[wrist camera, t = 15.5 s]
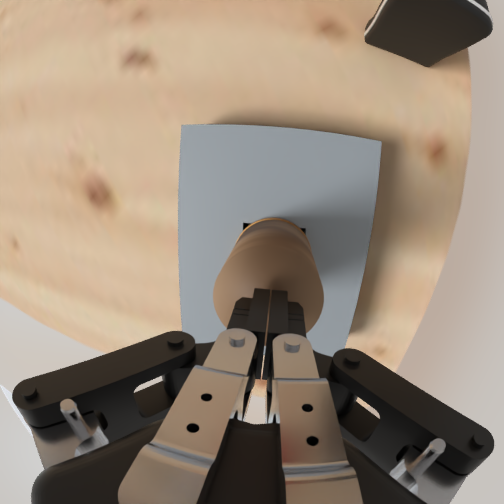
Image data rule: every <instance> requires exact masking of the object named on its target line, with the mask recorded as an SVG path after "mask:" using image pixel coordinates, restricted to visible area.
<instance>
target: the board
mask: <svg viewBox="0 0 504 504" xmlns="http://www.w3.org/2000/svg"><path fill="white" fill-rule="evenodd" d="M381 143H382V142H381V141H377V140H371V139H366V138H361V137H355V136H349V135H343V134H336V133H330V132H322V131H314V130H306V129H296V128H285V127H272V126H256V125H227V124H198V125H182V127H181V142H180V161H179V191H178V256H179V286H180V305H181V321H182V332H186V333H188V334H190V335H192V336H193V337H194V339H195V343H209V342H213V341H216V339H217V337H218V335H219V334H220V333H221V332H223V331H225V330H226V329H227V328H226V327H225V326H224V325H223V324H222V322H221V321H220V319H219V317H218V315H217V313H216V310H215V307H214V303H213V289H214V284H215V281H216V279H217V276H218V275H219V273H220V271H221V269H222V267H223V266H224V264H225V262H226V260H227V258H228V257H229V255H230V253H231V251H232V250H233V248H234V246H235V244H236V241H237V239H238V238H239V236H240V234H241V233H242V232H243V230H244V229H245V228H246V227H247V226H248V223H253V222H255V221H258V220H260V219H264V218H281V219H285V220H288V221H290V222H292V223H294V224H295V225H296V226H298V227H299V228H302V229H301V230H302V231H303V232H304V234H305V235H306V237H307V239H308V241H309V243H310V246H311V251H312V255H313V258H314V261H315V264H316V267H317V270H318V273H319V276H320V280H321V283H322V286H323V291H324V304H323V309H322V313H321V315H320V317H319V319H318V321H317V322H316V324H315V325H314V326H313V328H312V329H311V330H310V331H309V332H308V333H306V337H307V339H308V340H309V341H310V343H311V346H312V349H313V350H315V351H316V352H318V353H321V354H324V355H328V356H332V357H333V355H334V353H335V352H336V351H338V350H340V349H344V348H345V345H346V342H347V338H348V335H349V331H350V328H351V324H352V320H353V316H354V312H355V308H356V304H357V300H358V296H359V292H360V288H361V283H362V279H363V274H364V269H365V264H366V259H367V254H368V248H369V243H370V237H371V231H372V225H373V218H374V211H375V204H376V196H377V188H378V179H379V169H380V157H381ZM265 349H266V346H264V354H263V355H265Z"/></svg>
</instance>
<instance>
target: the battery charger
mask: <svg viewBox="0 0 504 504" xmlns="http://www.w3.org/2000/svg"><path fill="white" fill-rule="evenodd" d="M492 27H493V20H492V17H491V15H490V13H489V10H488V6H487V2H486V0H382V2H381V3H380V5H379V7H378V9H377V11H376V13H375V15H374V16H373V18H372V19H370V20H369V22H368V23H367V26H366V28H365V33H364V38H365V42H366V43H367V44H370V45H373V46H376V47H378V48H381V49H384V50H387V51H389V52H392V53H395V54H397V55H400V56H402V57H405V58H407V59H410V60H412V61H414V62H417V63H419V64H421V65H424V66H426V67H430V66H432V65H433V64H435V63H436V62H438V61H440V60H442V59H443V58H445V57H448V56H450V55H452V54H454V53H456V52H459V51H461V50H463V49H465V48H467V47H469V46H471V45H473V44H475V43H477V42H479V41H480V40H482V39H484V38H486V37H487V36H489V35H490V34H491V32H492V30H493V28H492Z"/></svg>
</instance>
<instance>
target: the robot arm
mask: <svg viewBox="0 0 504 504" xmlns="http://www.w3.org/2000/svg"><path fill="white" fill-rule="evenodd" d="M269 298H270V289H262V288H255V289H254V293H253V298H247V297H241V298H240V299H239V300H237V301H236V303H235V306H234V309H233V312H232V314H231V317H230V320H229V323H228V326H227V329H226V330H225V331H223V332H221V333H220V334H219V335H218V337H217V339H216V341H213V342H209V343H195V339H194V337H193V336H192V335H190V334H188V333H186V332H182V331H170V332H166V333H164V334H161V335H158V336H156V337H153V338H150V339H147V340H145V341H142V342H139V343H136V344H134V345H131V346H128V347H125V348H122V349H119V350H117V351H114V352H111V353H108V354H105V355H102V356H99V357H96V358H93V359H90V360H87V361H84V362H81V363H78V364H75V365H72V366H69V367H66V368H62V369H60V370H56V371H53V372H49V373H46V374H43V375H39V376H36V377H32V378H29V379H26V380H23V381H22V382H20V383H19V384H18V385H17V386H16V387H15V388H14V390H13V394H12V398H13V402H14V403H15V405H16V406H17V408H18V410H19V411H20V413H21V414H22V416H23V417H24V420H25V422H26V423H27V424H28V426H29V427H30V429H31V431H32V434H33V438H34V441H35V444H36V447H37V450H38V453H39V456H40V459H41V461H42V464H43V467H44V469H45V470H44V471H43V472H41V473H40V474H39V476H38V477H37V478H36V480H35V482H34V484H33V487H32V493H31V502H32V504H449V503H450V502H451V500H452V499H453V497H454V496H455V494H456V493H457V491H458V490H459V488H460V487H461V485H462V483H463V482H464V480H465V478H466V477H467V476H468V475H469V474H470V473H472V472H473V471H474V470H475V469H476V468H477V467H478V466H479V465H480V464H481V463H482V462H483V461H484V460H485V459H486V458H487V457H488V456H489V455H490V454H491V453H492V451H493V449H494V439H493V436H492V435H491V433H490V432H489V431H488V430H487V429H486V428H484V427H482V426H481V425H479V424H477V423H476V422H474V421H472V420H471V419H469V418H467V417H466V416H464V415H462V414H460V413H459V412H457V411H456V410H454V409H452V408H451V407H449V406H447V405H446V404H444V403H442V402H441V401H439V400H437V399H436V398H434V397H432V396H431V395H429V394H428V393H426V392H425V391H423V390H421V389H420V388H418V387H417V386H415V385H413V384H412V383H410V382H408V381H407V380H405V379H404V378H402V377H400V376H399V375H397V374H396V373H394V372H393V371H391V370H390V369H388V368H387V367H385V366H383V365H382V364H380V363H379V362H377V361H376V360H374V359H373V358H371V357H369V356H368V355H366V354H365V353H363V352H361V351H359V350H356V349H350V348H346V349H340V350H338V351H336V352H335V353H334V355H333V357H332V356H328V355H324V354H321V353H318V352H316V351H315V350H313V349H312V346H311V343H310V341H309V340H308V339H307V337H306V328H305V319H304V311H303V307H302V306H301V305H300V304H299V303H298V302H289V301H288V291H283V290H272V293H271V302H270V312H269V321H268V330H267V340H266V349H265V358H264V367H263V376H262V379H263V380H267V388H266V395H265V406H266V407H265V408H266V424H250V423H247V422H244V420H245V416H246V413H247V409H248V406H249V402H250V398H251V395H252V389H253V387H254V384H255V379H261V370H262V362H263V354H264V345H265V336H266V327H267V318H268V308H269ZM159 376H162V379H163V381H161V382H159V383H156V384H154V385H152V386H150V387H147V388H145V389H143V390H140V391H138V392H135V393H134V390H135V389H136V387H138V386H139V385H141V384H143V383H145V382H147V381H150V380H153V379H155V378H157V377H159ZM357 397H359V398H361V399H362V400H363V401H365V402H366V403H367V404H369V405H370V406H371V407H373V408H374V409H375V410H377V412H378V413H379V415H380V419H379V418H377V417H376V416H375V415H373V414H372V413H371V412H369V411H368V410H367V409H365V408H364V407H363V406H361V405H360V404H359V403H357V402H356V400H357Z"/></svg>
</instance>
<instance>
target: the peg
mask: <svg viewBox="0 0 504 504" xmlns="http://www.w3.org/2000/svg"><path fill="white" fill-rule="evenodd" d="M255 288H262V289H270V298H269V308H268V318H267V327H266V336H265V345H264V346H266V340H267V330H268V321H269V312H270V302H271V293H272V290H283V291H288V301H289V302H298V303H299V304H300V305H301V306H302V307H303V311H304V319H305V328H306V333H308V332H309V331H310V330H311V329H312V328H313V326H314V325H315V324H316V322H317V321H318V319H319V317H320V315H321V313H322V309H323V304H324V291H323V286H322V283H321V280H320V276H319V273H318V270H317V267H316V264H315V261H314V258H313V255H312V251H311V246H310V243H309V241H308V239H307V237H306V235H305V234H304V232H303V231H302V230H301V229H300V228H299V227H298V226H296V225H295V224H294V223H292V222H290V221H288V220H285V219H281V218H264V219H260V220H258V221H255V222H253V223H252V224H250V225H249V226H247V227H246V228H245V229H244V230H243V232H242V233H241V234H240V236H239V238H238V239H237V241H236V244H235V246H234V248H233V250H232V251H231V253H230V255H229V257H228V258H227V260H226V262H225V264H224V266H223V267H222V269H221V271H220V273H219V275H218V276H217V279H216V281H215V284H214V289H213V303H214V307H215V310H216V313H217V315H218V317H219V319H220V321H221V322H222V324H223V325H224V326H225V327H226V328H227V326H228V323H229V320H230V317H231V314H232V312H233V309H234V306H235V303H236V301H237V300H239V299H240V298H241V297H247V298H253V293H254V289H255Z"/></svg>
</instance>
